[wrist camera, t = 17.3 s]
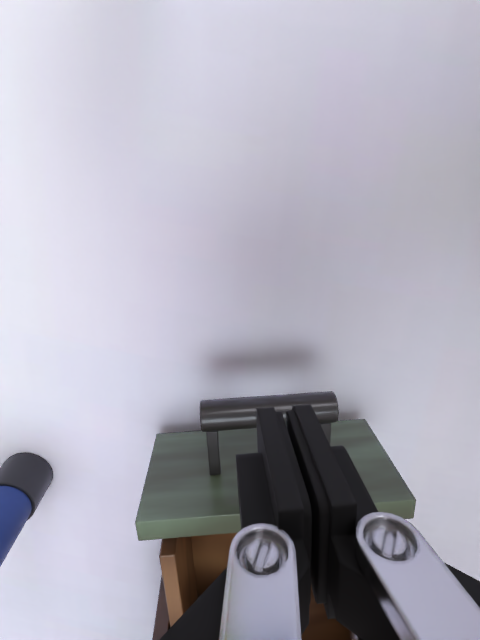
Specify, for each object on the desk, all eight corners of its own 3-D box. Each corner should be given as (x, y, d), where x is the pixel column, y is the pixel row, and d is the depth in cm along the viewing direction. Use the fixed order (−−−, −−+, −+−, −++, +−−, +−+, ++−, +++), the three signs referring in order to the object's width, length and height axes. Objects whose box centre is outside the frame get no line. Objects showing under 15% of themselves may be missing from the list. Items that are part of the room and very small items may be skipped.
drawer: (148, 372, 23) (121, 444, 17) (369, 357, 24) (426, 422, 17) (179, 593, 30) (168, 708, 23) (353, 578, 30) (390, 686, 24)
